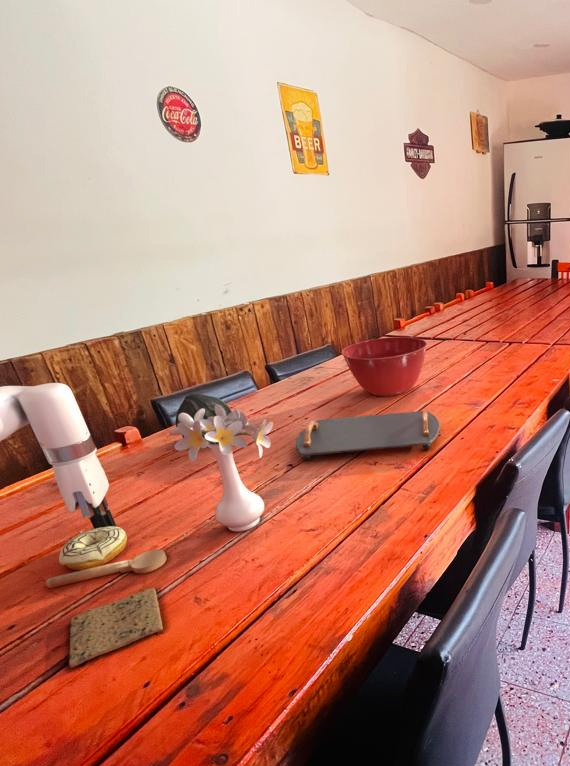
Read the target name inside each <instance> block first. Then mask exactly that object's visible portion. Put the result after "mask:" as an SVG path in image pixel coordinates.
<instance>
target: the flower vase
mask: <svg viewBox="0 0 570 766" xmlns="http://www.w3.org/2000/svg"><path fill="white" fill-rule="evenodd" d="M232 406H233V409H234V411H232V412H231V413H230V414H229V415H228V416H226V412H225V410H224V409H223V408H222V407H221V406H220V405H218V404H217V405H215V412H216V415H217V416H215V417H208V420H206V419H203V416H204V413H205V409H200V410H199V411H198V412H197V413H196V414H195V416H194V420H193V419H192V418H191V417H190V416H189V415H188V414H186V413H180V414H179V415H178V420H179V421H180V423H178V425H177V426H178V427H177V428H176V427H174V428H173V429H171V430H170V432H169V435H170V436H179V435H181V434H182V435H183V436H184V438H181V439H179V440H178V441H176V442H175V444H174V450H175V451H177V452H181V451H186V450H187V449H188V450H189V451H188V458H189V461H191V462H195V461H196V459H197V458H198V453H199V450H200V449H206V448H207V447H208V448H209V449H210V450H211V453H212V454H213V456H214V459H215V460H216V461H215V462H216V463H217V466H218V469H219V474H220V477H221V481H222V496H221V499H220V500H219V501H218V503H217V505H216V507H215V511H214V517H215V520H216V521H217V522H218V523H219V524H220V525H222V526H224V527H226V528H227V529H228V530H229V531H232V532H244V531H248V530H250V529H252V528H254V527H255V526H257V525H258V524H259V523H260V520H261V516H262V515H263V513H264V511H265V507H266V506H265V502H264V499H262V497H261V496H260V495H259V494H257V493H256V492H253V491H251V490H249V489H248V488H247V487H246V486H245V484H244V482H243V481H242V479H241V477H240V475H239V471H238V468H237V466H236V463H235V460H234V454H233V453H234V452H233V446H234V447H237V448H247V446H248V442H247V441H246V440H245V438H243V437H241V436H248V437H252V439H253V442H254V444H255V447H256V450H257V455H258V457H259V459H261V458H262V456H263V452H264V449H263V447H264V448H265V449H270V447H271V445H272V444H271V443H272V442H271V439H270V438H269V436H267V434H269V433H270V432H271V431H272V429H273V426H274V422H273V421H271V422H269V423H268V424H267V419H266V418H265V419H264V420H263V421H262V423H261V424H260V425H259V427H257V426H255V425H253V424H251V423H249V419H248V417H247V415H246V414H245V413H244V412H243V411H241V410H238V408H236V407H235V405H232ZM194 421H195V422H194ZM202 432H205V433H206V434H204V433H202ZM250 432H252V433H250ZM182 435H181V436H182ZM202 435H204V436H205V438H203V437H202ZM207 441H208V442H207Z"/></svg>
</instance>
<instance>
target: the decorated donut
mask: <svg viewBox="0 0 570 766" xmlns="http://www.w3.org/2000/svg"><path fill="white" fill-rule="evenodd" d="M127 541H128V535H127V533H126V531H125V530H124V529H123V528H122V527H120V526H115V527H113V526H108V527H101V528H96V529H94V528H93V529H88V530H85V531H82V532H80V533H79V534H77V535H75V536H73V537H72V538H70V539H69V540H68V541H66V543H64V545H63V546H62V547H61V549H60V553H59V556H58V562H59V564H60V565H62V566H66V567H67V568H68V569H71V570H73V571H81V570H86V569H90V568H94V567H99V566H103V565H106V563H108V562H110V561H113V560H114V558H115V557H117V556H118V555H119V554H121V552H122V551H124V550H125V548H126V545H127V543H128V542H127Z"/></svg>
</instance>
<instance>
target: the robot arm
mask: <svg viewBox="0 0 570 766" xmlns="http://www.w3.org/2000/svg"><path fill="white" fill-rule="evenodd" d="M27 425H30V427H31V429H32V431H33V433H34V435H35V438H36V439H37V441H38V445H40V448H41V450H42V452H43V454H44V457H45V458H46V461H47V462H48V464H49V465H51V466H52V471H53V475H54V477H55V478H54V480H55V482H56V485H57V487H58V490H59V492H60V496H61V497H62V500H63V503H64V505H65V507H66V510H67V511H68V512H69V513H75V512H76V511H77V509H78V508H80V512H81V515H82V518H83V519H87V518H88V519H89V521H90V523H91V525H92V527H93V529H96V528H101V527H108V526H113V527H117V523H116V520H115V519H114V517H113V514H112V512H111V509H110V506H109V503H108V500H107V498H106V494H107V492H108V491H109V488H110V483H109V480H108V478H107V475H106V472H105V470H104V468H103V466H102V463H101V462H100V460H99V458H98V456H97V454H96V453H97V452H98V449H97V447H96V444H95V441H94V440H93V437H92V434H91V432H90V431H89V428H88V426H87V424H86V421H85V418H84V416H83V414H82V412H81V409H80V407H79V405H78V402H77V400H76V398H75V395H74V393H73V391H72V389H71V388H70V387H69V386H68V385H66V384H65V383H61V382H49V383H42V384H37V385H31V386H29V385H28V386H27V385H3V386H0V442H2V441H3V440H5V439H7V438H8V437H10V436H11V435H12V434H14V433H15V432H16V431H19V430H20V429H22V428H24V427H25V426H27Z"/></svg>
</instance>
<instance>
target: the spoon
mask: <svg viewBox="0 0 570 766" xmlns="http://www.w3.org/2000/svg"><path fill="white" fill-rule="evenodd" d="M166 561H167V555H166V553H165V551H164V549H163V550H162V549H159V548H158V549H157V548H156V549H150V550H147V551H144V552H142V553H141V552H140V554H138V555H136V556H135V557H134V558H130V559H124V560H120V561H116V562H112V563H107V564H103V565H100V566H98V567H94V568H90V569H86V570H76V571H74V572H70V573H65V574H60V575H56V576H51V577H49V578H48V579H46V581H45V586H46V587H47V588H50V589H53V588H57V587H62V586H65V585H70V584H75V583H79V582H83V581H87V580H91V579H95V578H99V577H103V576H107V575H111V574H116V573H119V572H120V574H123V573H128V572H131V571H132V572H133V573H134V574H147V573H150V572H153V571H155V570H157V569H159V568H161V567H163V565H164V564H166Z"/></svg>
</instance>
